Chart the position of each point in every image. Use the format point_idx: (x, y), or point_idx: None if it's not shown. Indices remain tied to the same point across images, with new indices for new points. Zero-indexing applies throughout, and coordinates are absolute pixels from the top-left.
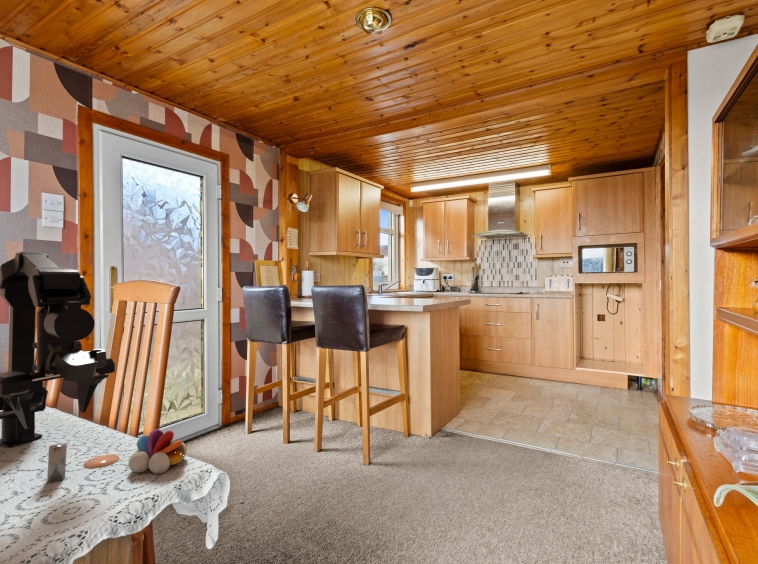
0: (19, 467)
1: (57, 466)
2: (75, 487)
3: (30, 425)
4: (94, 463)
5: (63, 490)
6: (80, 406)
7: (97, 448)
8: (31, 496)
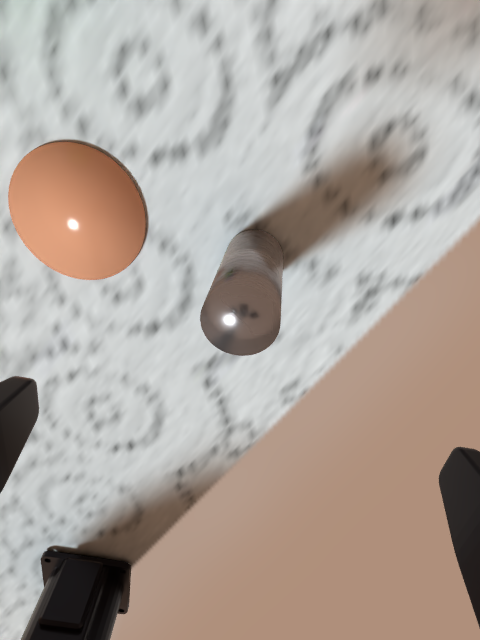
0: (215, 444)
1: (269, 256)
2: (300, 97)
3: (473, 459)
4: (106, 225)
5: (332, 129)
6: (9, 451)
7: (7, 340)
8: (388, 217)
